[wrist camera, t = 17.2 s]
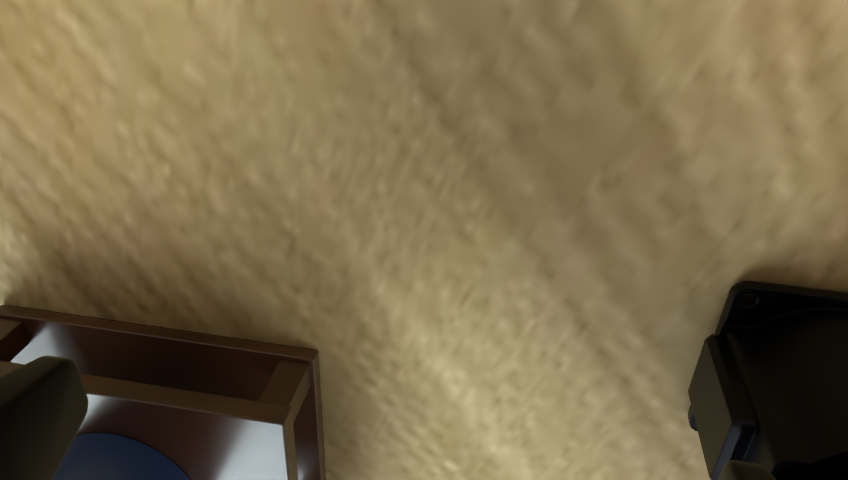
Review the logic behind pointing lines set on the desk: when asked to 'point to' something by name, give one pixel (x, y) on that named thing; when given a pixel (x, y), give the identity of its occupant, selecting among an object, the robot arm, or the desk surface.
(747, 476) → the robot arm
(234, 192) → the desk surface
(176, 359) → the rack
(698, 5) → the desk surface
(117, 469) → the blue cylinder
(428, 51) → the desk surface
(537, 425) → the desk surface
